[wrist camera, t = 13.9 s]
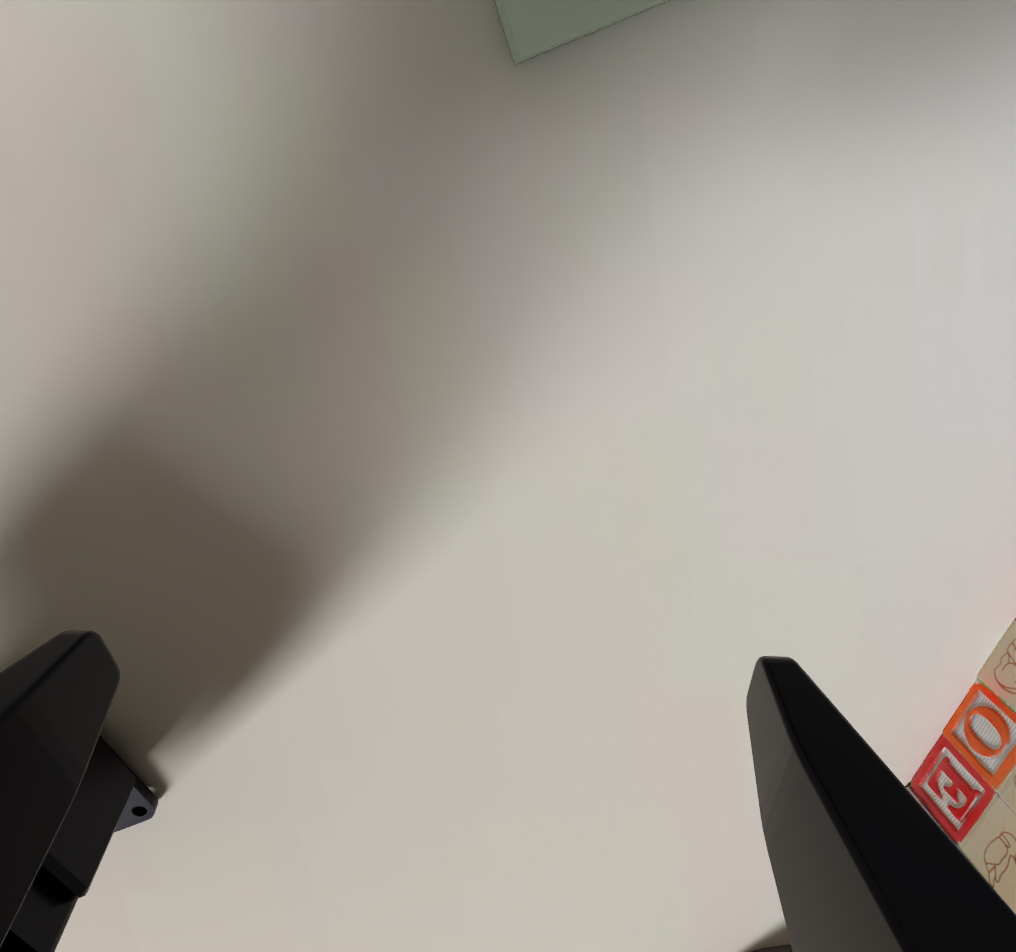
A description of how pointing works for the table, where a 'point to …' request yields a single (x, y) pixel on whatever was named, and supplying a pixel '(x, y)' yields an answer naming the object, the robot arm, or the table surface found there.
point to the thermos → (777, 949)
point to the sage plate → (559, 21)
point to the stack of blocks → (979, 773)
